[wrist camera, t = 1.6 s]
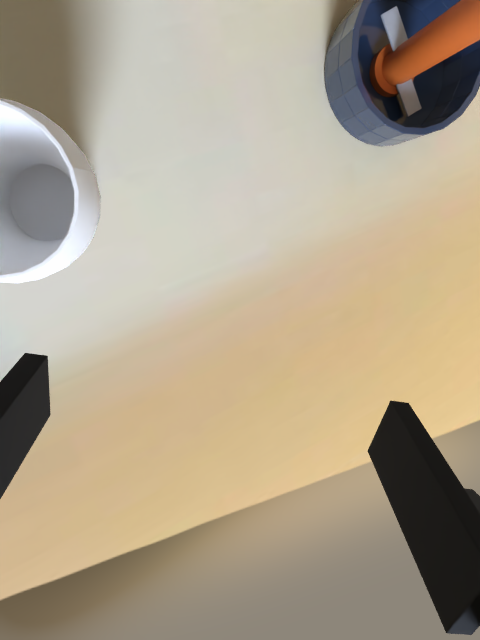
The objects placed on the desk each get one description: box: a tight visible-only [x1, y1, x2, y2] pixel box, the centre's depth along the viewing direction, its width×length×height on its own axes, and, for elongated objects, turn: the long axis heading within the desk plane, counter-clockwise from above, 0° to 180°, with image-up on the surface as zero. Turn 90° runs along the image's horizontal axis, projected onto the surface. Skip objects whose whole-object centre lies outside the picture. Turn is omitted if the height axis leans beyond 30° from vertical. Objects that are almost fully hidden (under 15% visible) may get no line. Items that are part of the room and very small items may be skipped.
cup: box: [0, 98, 100, 283], centre depth 28 cm, size 11×11×15 cm
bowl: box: [325, 0, 480, 146], centre depth 36 cm, size 13×13×6 cm
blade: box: [369, 0, 480, 117], centre depth 31 cm, size 9×4×14 cm, turn 30°
